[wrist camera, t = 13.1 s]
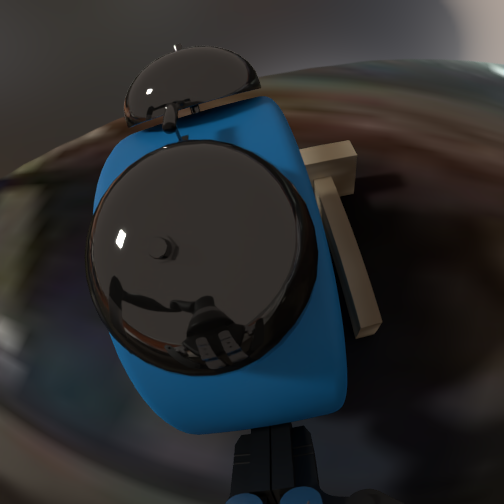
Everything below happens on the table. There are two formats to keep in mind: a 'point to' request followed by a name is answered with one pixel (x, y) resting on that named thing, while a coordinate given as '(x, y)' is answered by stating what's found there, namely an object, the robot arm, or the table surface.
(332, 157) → the wooden staple shape
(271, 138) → the alarm clock
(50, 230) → the table surface
